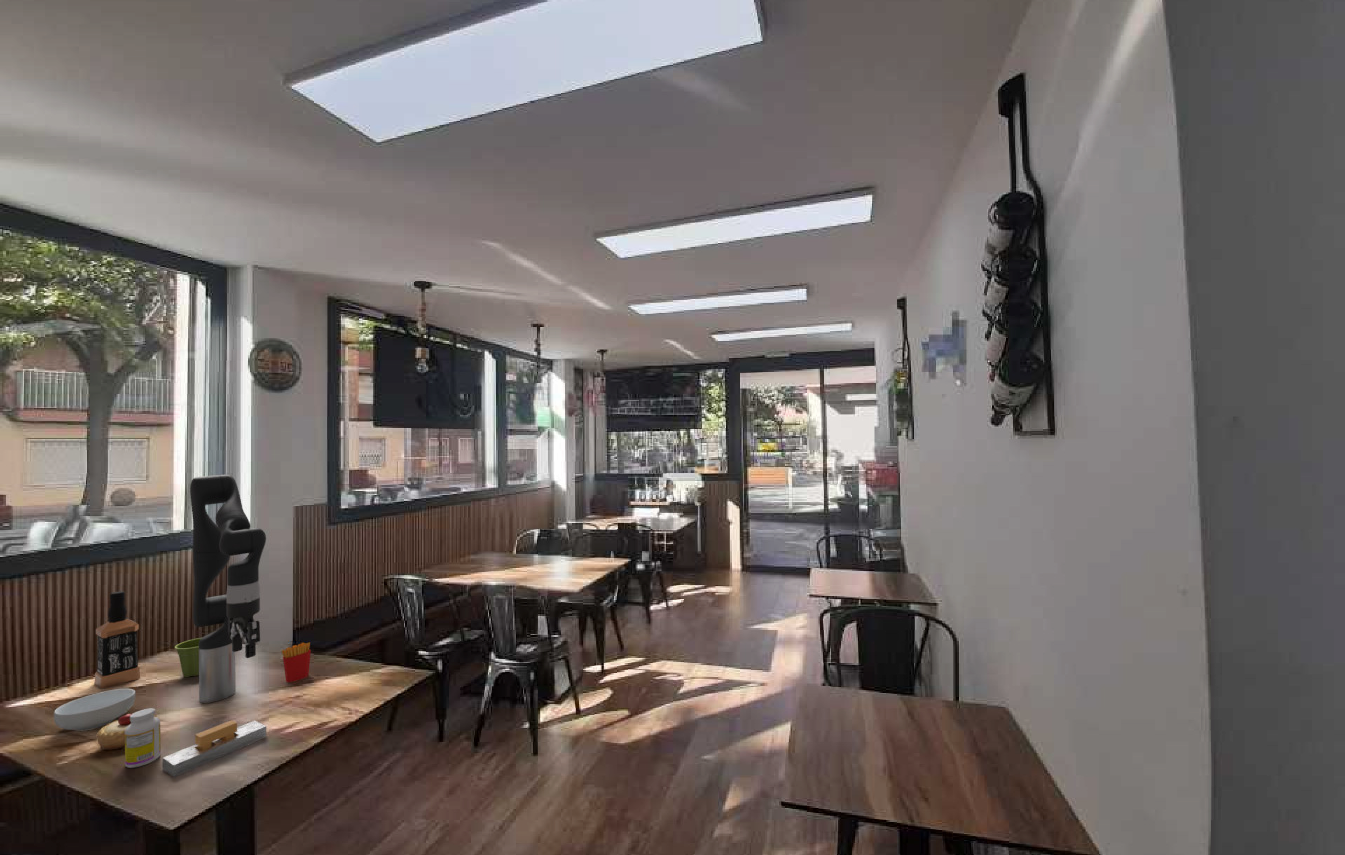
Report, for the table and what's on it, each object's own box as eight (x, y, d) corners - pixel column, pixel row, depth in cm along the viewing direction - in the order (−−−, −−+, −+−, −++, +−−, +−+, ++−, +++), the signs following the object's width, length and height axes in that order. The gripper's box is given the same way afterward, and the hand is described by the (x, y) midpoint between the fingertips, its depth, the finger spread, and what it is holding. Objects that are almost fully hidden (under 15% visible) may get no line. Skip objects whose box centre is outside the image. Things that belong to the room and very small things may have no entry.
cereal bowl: (148, 714, 164) (148, 691, 164) (73, 743, 148) (73, 718, 149) (115, 706, 170) (115, 684, 170) (40, 734, 154) (40, 710, 154)
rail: (162, 769, 135) (162, 757, 135) (254, 730, 152) (254, 720, 152) (173, 777, 131) (173, 765, 131) (266, 736, 149) (266, 726, 149)
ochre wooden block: (195, 758, 139) (195, 734, 139) (232, 743, 146) (232, 720, 146) (200, 762, 138) (200, 737, 138) (237, 746, 145) (237, 722, 145)
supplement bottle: (141, 755, 142) (141, 707, 142) (167, 753, 142) (167, 705, 143) (117, 770, 135) (117, 720, 135) (144, 768, 136) (144, 718, 136)
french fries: (307, 673, 191) (307, 639, 191) (312, 675, 189) (312, 641, 189) (280, 682, 184) (280, 647, 184) (285, 684, 182) (284, 650, 182)
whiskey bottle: (140, 678, 191) (140, 590, 191) (101, 690, 182) (101, 597, 183) (132, 672, 196) (132, 587, 197) (93, 683, 188) (93, 593, 189)
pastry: (103, 759, 141) (102, 726, 141) (92, 745, 147) (91, 714, 147) (163, 735, 151) (162, 705, 151) (150, 724, 158) (149, 695, 158)
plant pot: (197, 680, 188) (197, 648, 188) (165, 680, 188) (165, 649, 188) (226, 665, 200) (226, 636, 200) (195, 666, 200) (195, 636, 200)
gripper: (216, 598, 152) (217, 653, 152) (238, 605, 145) (239, 664, 145) (247, 591, 159) (248, 644, 159) (270, 598, 152) (270, 654, 152)
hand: (243, 653), depth 152 cm, fingers open, 8 cm apart
